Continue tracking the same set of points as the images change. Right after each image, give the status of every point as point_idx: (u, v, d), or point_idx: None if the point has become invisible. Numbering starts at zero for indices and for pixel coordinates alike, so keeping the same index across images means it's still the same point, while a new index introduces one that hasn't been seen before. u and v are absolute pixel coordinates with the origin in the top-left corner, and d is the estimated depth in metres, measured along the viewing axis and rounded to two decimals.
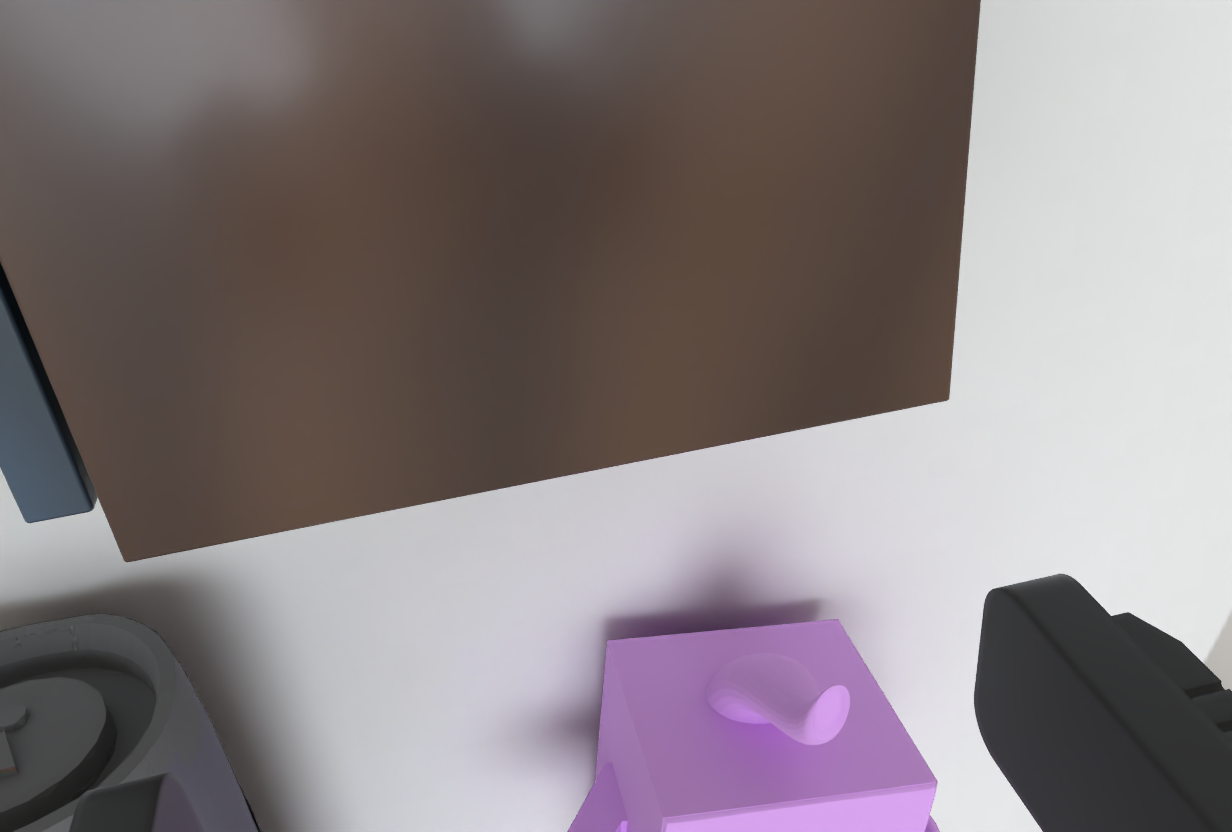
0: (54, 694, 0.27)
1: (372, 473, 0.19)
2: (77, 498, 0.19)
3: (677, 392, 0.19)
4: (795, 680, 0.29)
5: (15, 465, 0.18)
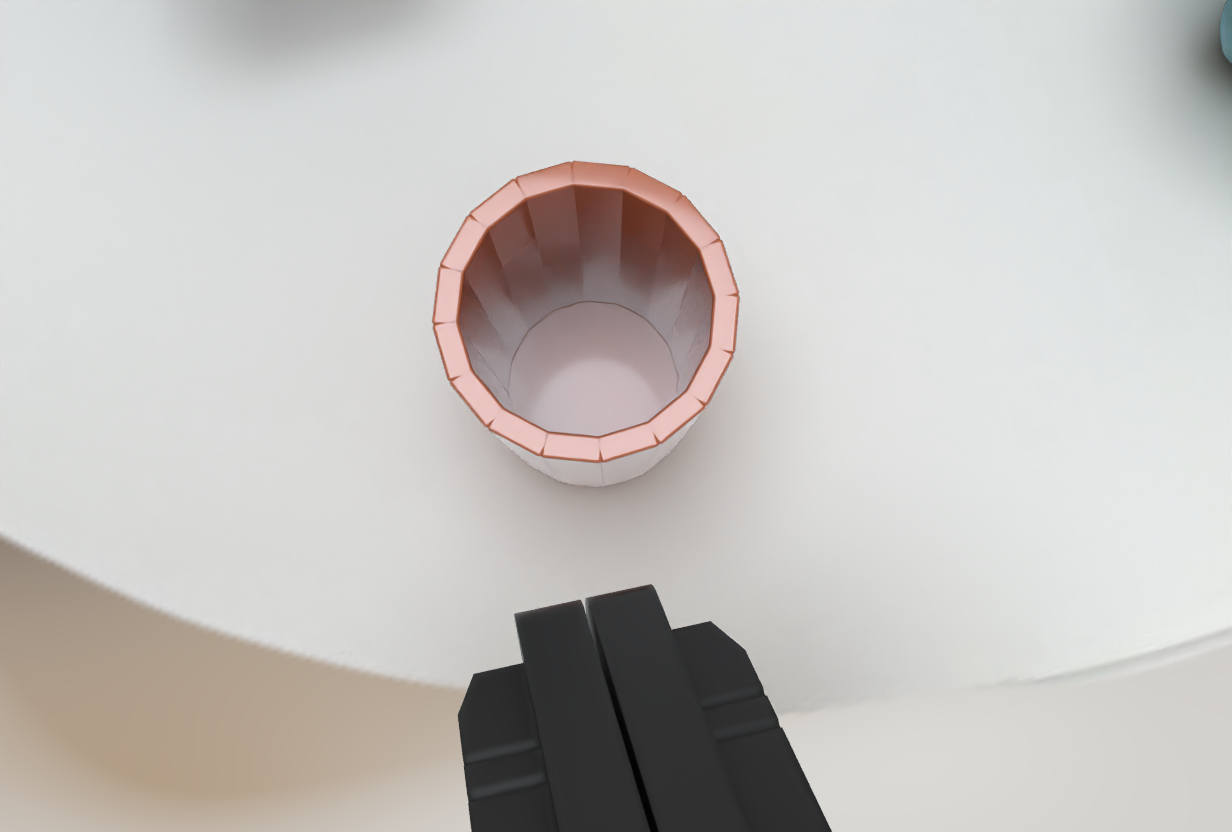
0: None
1: None
2: None
3: None
4: None
5: None
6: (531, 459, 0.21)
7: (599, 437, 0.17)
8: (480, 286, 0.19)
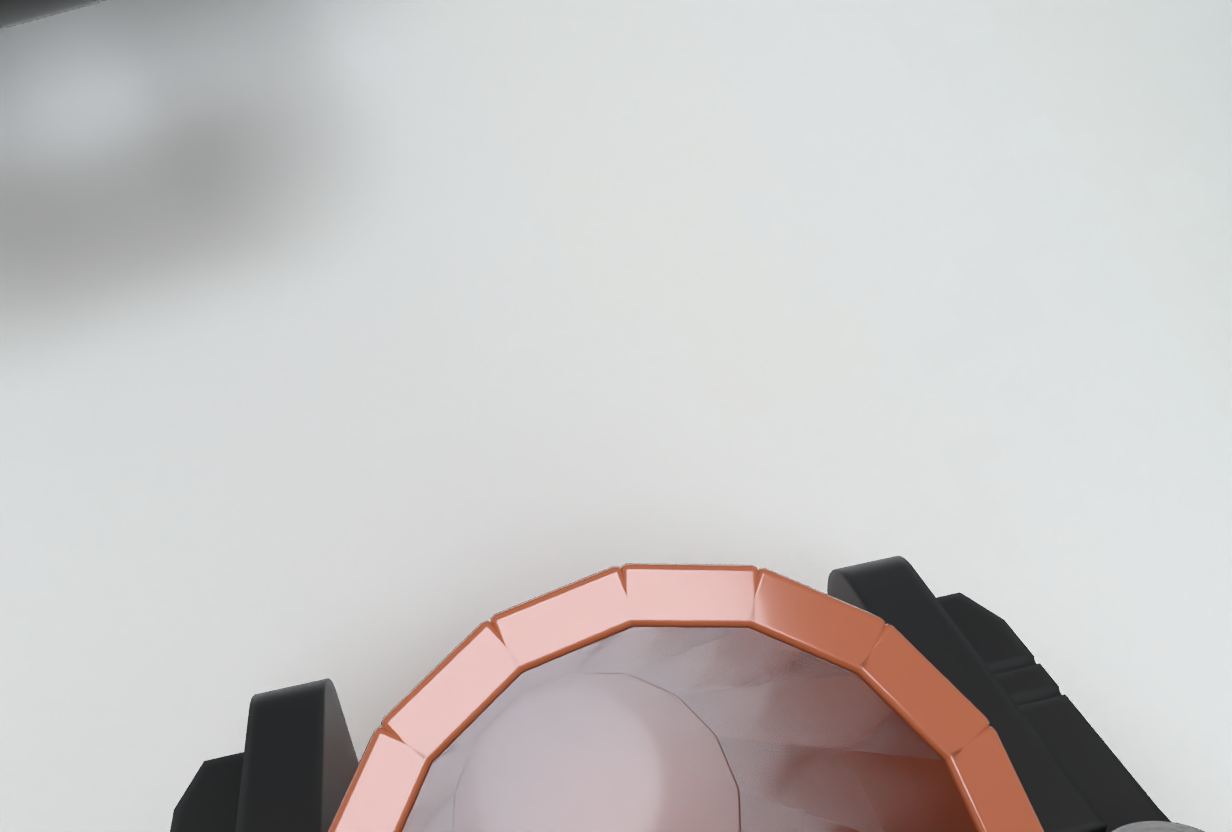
0: None
1: None
2: None
3: None
4: None
5: None
6: None
7: None
8: None
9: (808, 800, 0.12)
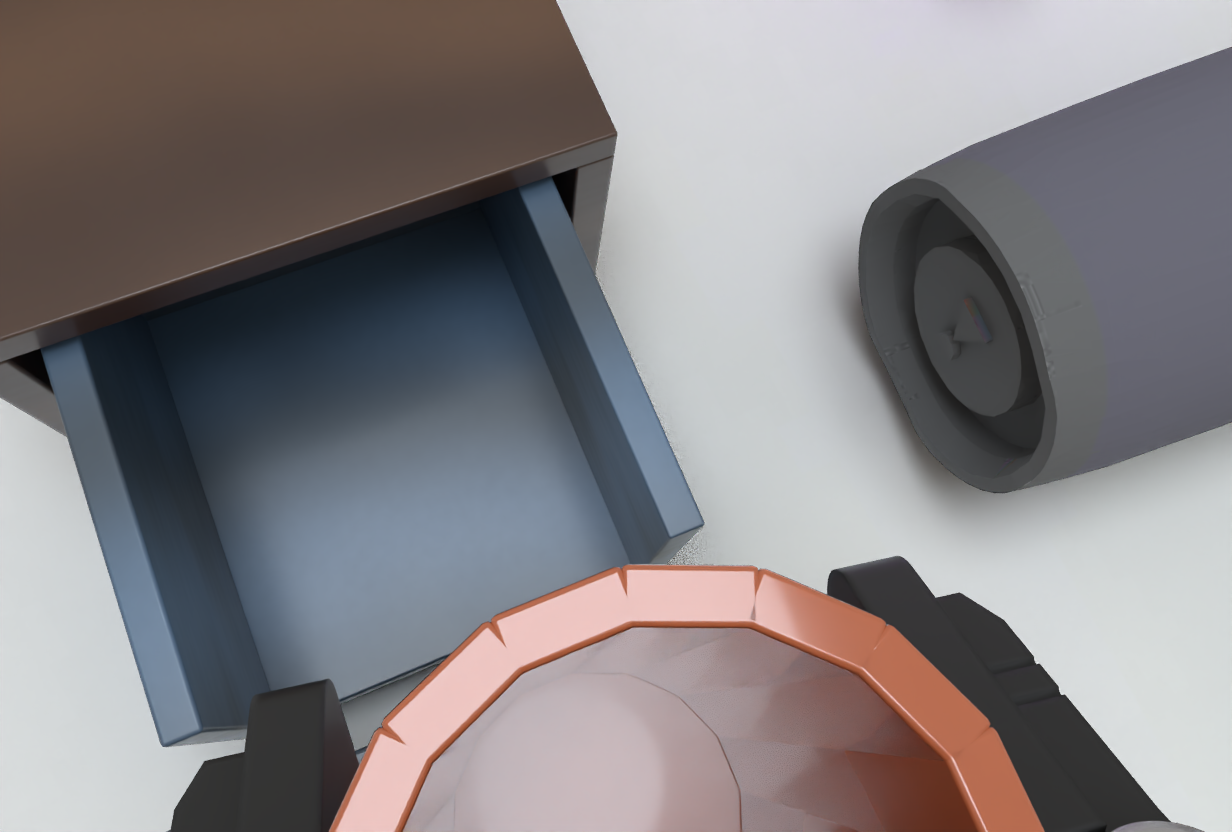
0: (928, 326, 0.28)
1: None
2: None
3: None
4: None
5: None
6: None
7: None
8: None
9: (809, 800, 0.12)
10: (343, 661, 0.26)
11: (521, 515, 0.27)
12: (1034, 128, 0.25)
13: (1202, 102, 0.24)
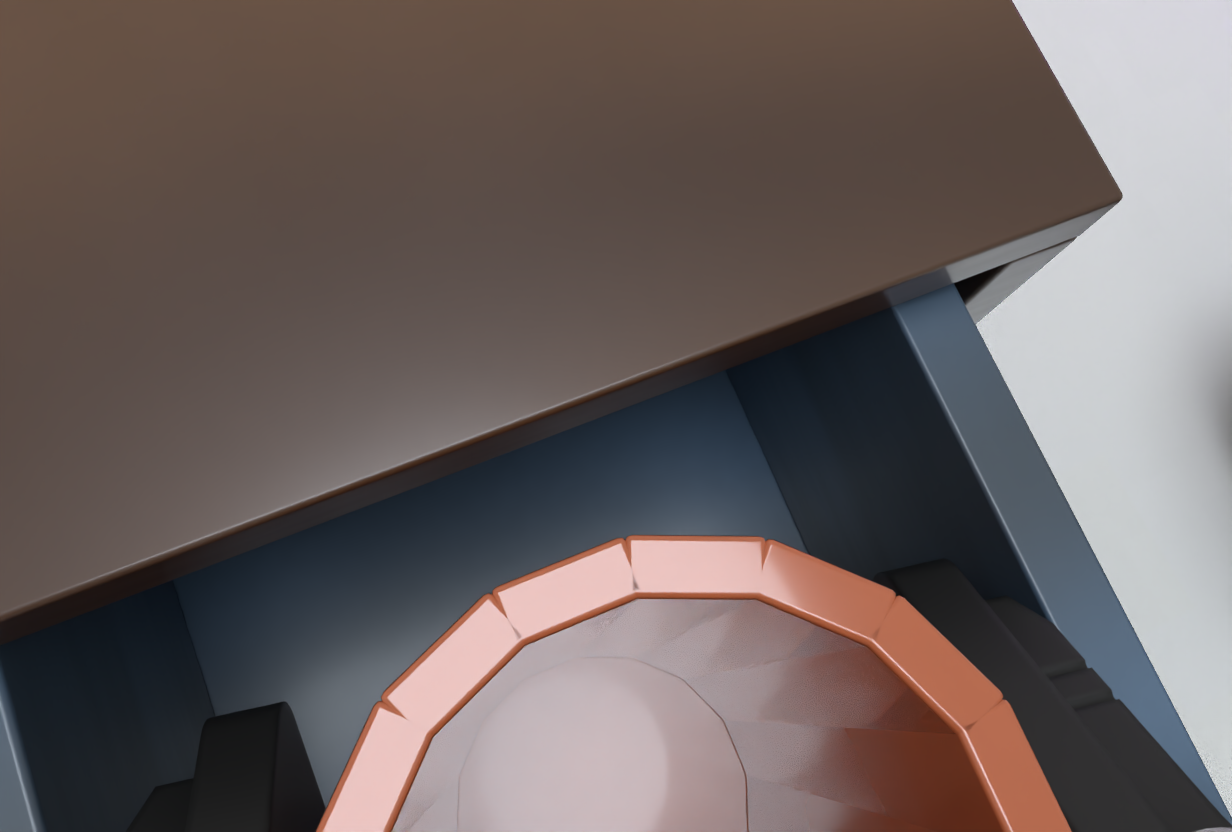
0: None
1: None
2: None
3: None
4: None
5: None
6: None
7: None
8: (413, 813, 0.08)
9: (816, 781, 0.12)
10: None
11: None
12: None
13: None
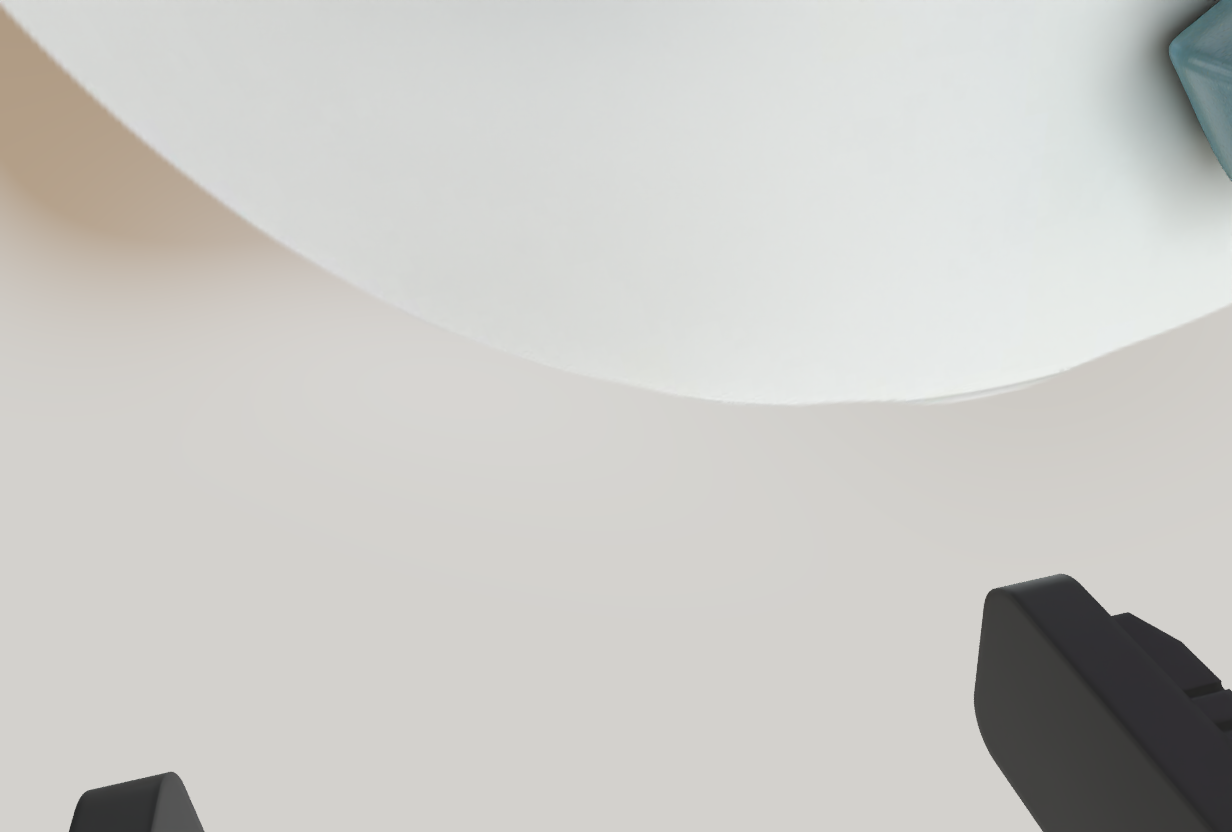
0: None
1: None
2: None
3: None
4: None
5: None
6: None
7: None
8: None
9: None
10: None
11: None
12: None
13: None
